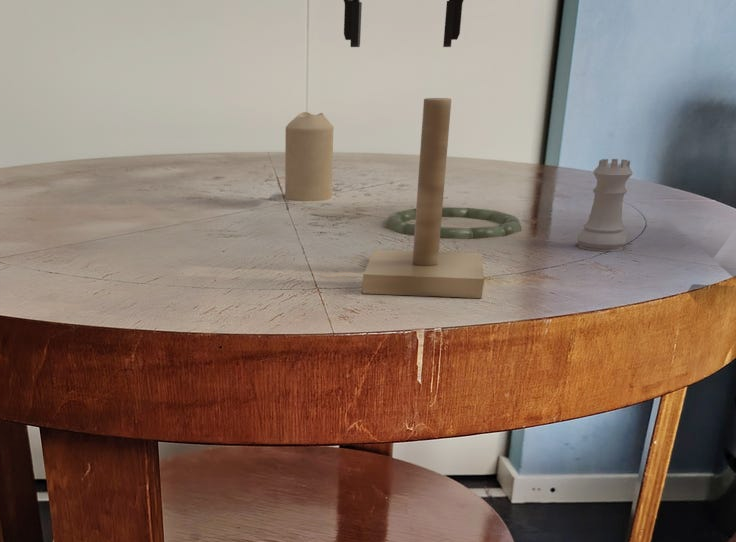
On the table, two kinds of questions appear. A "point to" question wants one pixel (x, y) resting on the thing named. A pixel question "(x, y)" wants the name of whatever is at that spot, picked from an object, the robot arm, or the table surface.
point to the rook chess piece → (607, 208)
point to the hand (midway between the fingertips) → (401, 47)
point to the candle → (309, 158)
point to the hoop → (506, 228)
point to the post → (427, 229)
